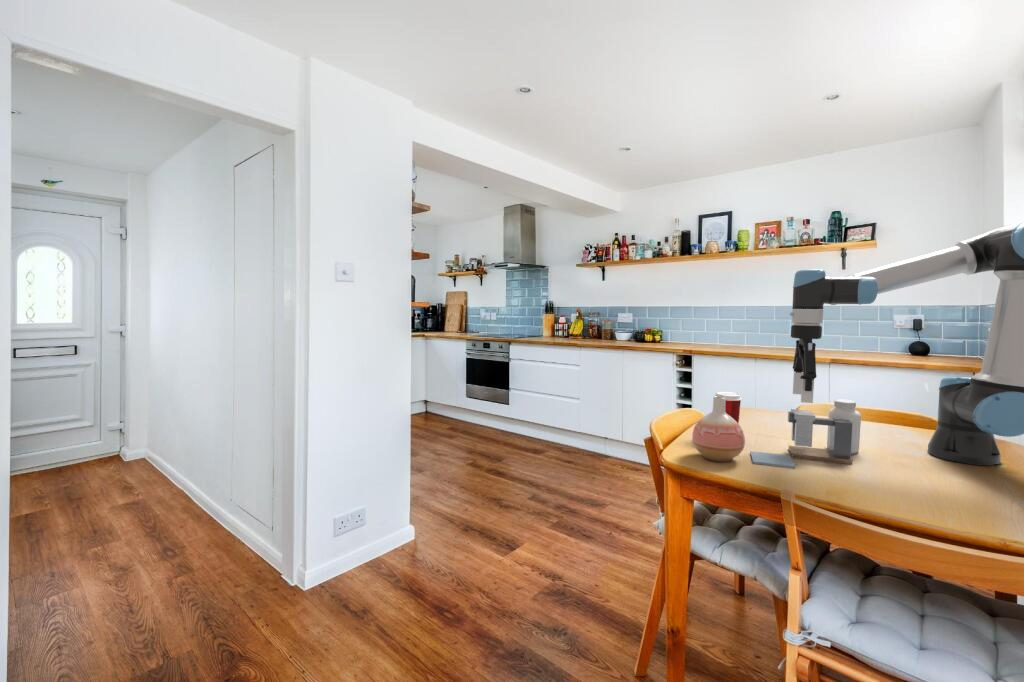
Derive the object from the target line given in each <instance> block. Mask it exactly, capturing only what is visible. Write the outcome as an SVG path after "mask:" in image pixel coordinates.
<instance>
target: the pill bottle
mask: <svg viewBox="0 0 1024 682" xmlns="http://www.w3.org/2000/svg"><path fill="white" fill-rule="evenodd" d="M833 405H834V407H833V408H831V409H830V410H829V411H828V417H827V419H831V418H839V419H848V420H849V421H850V422H852V440H851V455H852V454H853V455H854V454H858V453H859V449H860V440H861V427H862V426H861V423H862V415H861V412H859V411H858V410H856V409H857V402H856V401H854V400H851V399H844V398H843V399H841V398H839V399H835V400H834V401H833ZM826 437H827V439H826V447H827V449H829V446H830V426H828V425H827V436H826Z"/></svg>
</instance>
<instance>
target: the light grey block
mask: <svg viewBox="0 0 1024 682" xmlns="http://www.w3.org/2000/svg"><path fill="white" fill-rule="evenodd" d="M790 412H793V418H794V419H795V423H791V435H790V436H791V437H790V438H791V441H794V446H799V447H809V448H813V447H812V446H813V429H814V428H813V427H814V424H813V421H815V418H816V415H815V414H814V413H813V412H812V411H811V410H809V409H808V410H806V409H792V408H791V409H790Z"/></svg>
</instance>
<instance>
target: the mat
mask: <svg viewBox="0 0 1024 682" xmlns="http://www.w3.org/2000/svg"><path fill="white" fill-rule="evenodd" d="M749 453H750V457H751V461H752V463H753V464H755V465H764V466H773V467H779V468H780V467H781V468H791V469H796V465H795V463H794V461H793V460H792V457H791V456H790V455H789V454H781V453H772V452H762V451H752V450H751V451H750V452H749Z"/></svg>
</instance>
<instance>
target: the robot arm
mask: <svg viewBox="0 0 1024 682" xmlns="http://www.w3.org/2000/svg"><path fill="white" fill-rule="evenodd" d="M989 271H991V272H992V271H993V274H994V275H995V277H997V278H998V280H999V284H998V289H997V294H996V299H995V302H994V309H993V313H992V317H991V318H992V319H991V323H990V327H989V332H988V337H987V341H986V345H985V350H984V355H983V360H982V365H981V369H980V371H979V372H978V373H976V374H974V375H972V376H971V377H962V376H961V377H957V376H955V377H954V376H945V377H943V378H941V380H940V383H939V387H938V391H939V392H938V409H937V426H936V429H935V430H934V433H933V435H932V436H931V438H930V440H929V443H928V444H927V453H928V454H930V455H932V456H934V457H937V458H940V459H943V460H946V461H947V460H948V461H952V462H955V461H956V463H961V462H962V463H961V464H967V463H968V464H969V465H975V464H981V465H980V466H994V465H993V464H998V465H1000V464H1001V462H1002V461H1001V460H1002V458H1001V457H1002V456H1001V455H1002V454H1001V452H1000V450H999V449H1000V448H999V447H998V444H997V441H996V438H995V435H996V436H999V437H1005V438H1010V437H1019V436H1022V435H1024V220H1023V221H1020V222H1015V223H1012V224H1007V225H1004V226H1000V227H998V228H997V227H996V228H994V229H993V230H989V231H987V232H984V233H982V234H979V235H977V236H974V237H971V238H968V239H965V240H961V241H957V243H955V244H954V246H953V247H949V248H946V249H941V250H937V251H934V252H931V253H928V254H924V255H920V256H916V257H912V258H908V259H905V260H900V261H897V262H893V263H890V264H887V265H883V266H879V267H875V268H873V269H868V270H864V271H860V272H857V273H853V274H851V275H847V276H835V277H834V276H827V274H826V271H825V270H824V269H802V270H797V271H796V272H795V274H794V279H793V286H792V288H793V289H792V310H791V311H792V312H790V313H789V316H790V317H791V323H792V325H791V326H790V338H792V339H796V340H795V350H794V358H793V365H792V370H793V378H792V379H793V380H792V381H793V383H792V394H793V395H800V402H801V403H803V404H804V403H806V404H813V403H814V391H815V379H816V378H817V363H816V346H817V344H816V342H813V340H819V339H821V338H822V337H823V336H822V334H823V333H822V332H823V327H822V325H821V324H823V320H824V305H825V304H826V305H830V306H832V305H833V306H836V305H860V306H861V305H870V304H873V303H874V302H875V300H876V299H877V296H878V295H880V294H884V293H887V292H888V293H889V292H891V291H895V290H896V291H897V290H899V289H903V288H908V287H911V286H912V287H913V286H916V285H919V284H924V283H928V282H931V281H936V280H939V279H944V278H948V277H951V276H956V275H959V274H964V275H967V276H970V275H974V274H978V273H984V272H989ZM999 463H1000V464H999Z"/></svg>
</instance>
